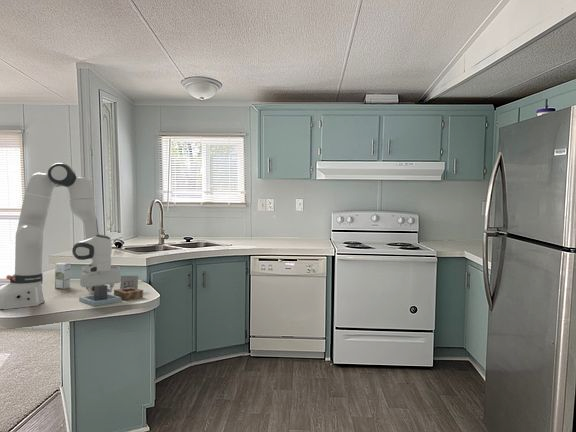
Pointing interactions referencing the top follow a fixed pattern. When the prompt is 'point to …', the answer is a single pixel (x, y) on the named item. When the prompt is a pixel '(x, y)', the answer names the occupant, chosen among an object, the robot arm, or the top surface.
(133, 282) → the electrical switch
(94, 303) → the tray
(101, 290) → the plug
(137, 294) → the holder
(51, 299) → the top surface
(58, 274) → the syrup box
